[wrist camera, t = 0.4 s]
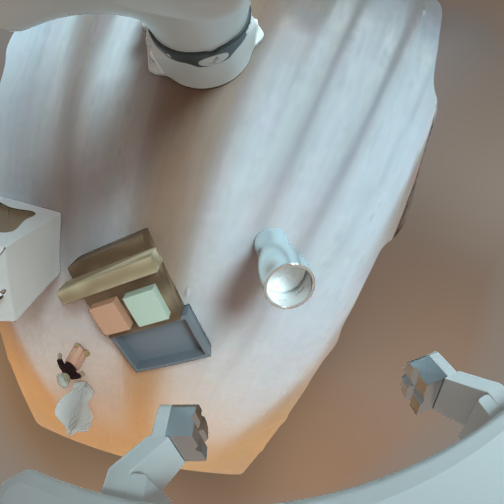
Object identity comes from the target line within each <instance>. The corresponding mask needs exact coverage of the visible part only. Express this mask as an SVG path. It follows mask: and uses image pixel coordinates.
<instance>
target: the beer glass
mask: <svg viewBox="0 0 504 504" xmlns="http://www.w3.org/2000/svg"><path fill="white" fill-rule="evenodd" d="M254 249H255V252H256V254H257V255H258V256H259V259H258V276H259V280H260V283H261V286H262V289H263V291H264V294H265V297H266V299H267V300H268V301H269V302H270V303H271V304H272V305H273V306H275V307H278V308H281V309H291V308H295V307H298V306H300V305H302V304H304V303H305V302H306V301H307V300H308V299H309V298H310V297H311V295H312V294H313V291H314V288H315V278H314V275H313V273H312V271H311V269H310V267H309V265H308V263H307V261H306V259H305V258H304V256H303V255H302V254H301V252H300V251H299V250H297V249H296V248H295V247H294V246H292V245H291V244H290V243H289V239H288V236H287V235H286V233H285V232H284V231H282V230H281V229H278V228H267V229H264V230H262V231H261V232H260V233H259V234H258V235H257V237H256V238H255V242H254Z"/></svg>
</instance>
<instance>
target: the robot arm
mask: <svg viewBox="0 0 504 504" xmlns="http://www.w3.org/2000/svg"><path fill="white" fill-rule="evenodd" d="M250 2H251V0H0V30H4V31H23V30H26V29H29V28H31V27H34V26H37V25H39V24H42V23H45V22H48V21H51V20H54V19H58V18H63V17H68V16H73V15H82V14H111V15H120V16H126V17H131V18H135V19H138V20H140V21H141V24H142V28H143V30H145V31H146V38H145V41H146V44H147V55H148V68H149V70H150V72H151V73H153V74H156V75H162V76H168V77H170V78H172V79H173V80H175V81H176V82H178V83H180V84H182V85H184V86H187V87H191V88H200V89H204V88H213V87H217V86H220V85H223V84H225V83H227V82H229V81H231V80H233V79H234V78H235V77H237V76H238V75H239V74H240V73H241V72H242V71H243V70H244V69H245V67H246V66H247V64H248V62H249V60H250V57H251V54H252V51H253V49H254V48H255V47H256V46H257V45H258V44H259V43H260V42H261V41H262V39H263V37H264V33H263V31H262V30H261V28H260V27H259V25H258V21H257V20H256V19H254V18H253V16H252V12H251V6H250ZM403 370H404V372H405V374H404V375H403V376H402V378H401V382H400V386H401V391H402V394H403V395H404V397H405V398H407V399H409V400H410V406H411V408H412V409H413V411H414V413H415V414H416V415H418V414H421V413H423V412H425V411H428V410H430V409H432V408H433V410H435V411H437V412H439V413H441V414H442V415H444V416H446V417H448V418H450V419H452V420H454V421H456V422H458V423H460V424H462V425H464V427H463V428H462V430H461V432H460V433H459V436H458V437H459V438H460V440H459V441H457V442H456V443H454V444H452V445H450V446H449V447H447V448H445V449H443V450H441V451H439V452H437V453H436V454H434V455H432V456H430V457H428V458H426V459H424V460H422V461H420V462H417V463H415V464H413V465H411V466H409V467H406V468H404V469H402V470H400V471H397V472H395V473H392V474H390V475H387V476H384V477H382V478H379V479H376V480H373V481H370V482H367V483H364V484H361V485H358V486H355V487H352V488H349V489H345V490H341V491H338V492H334V493H330V494H325V495H321V496H316V497H312V498H307V499H302V500H296V501H290V502H283V503H276V504H504V387H503V385H501V384H500V383H497V382H494V381H490V380H487V379H484V378H480V377H477V376H473V375H470V374H467V373H464V372H460V371H458V372H456V371H455V370H454V369H453V368H452V367H451V365H450V364H448V362H447V361H446V360H445V359H444V358H443V357H442V356H441V355H440V354H439V353H438V352H436V351H435V352H432V353H430V354H427V355H425V356H422V357H420V358H417V359H415V360H412V361H409V362H407V363H406V364H405V365H404V369H403ZM201 412H202V410H201V408H200V406H199V405H160V407H159V408H158V412H157V415H156V419H155V423H154V427H153V430H152V434H151V436H147V437H146V438H144V439H143V440H142V441H141V442H140V443H139V444H137V445H136V446H135V447H134V448H133V449H132V450H130V451H129V452H128V453H127V454H126V455H124V456H123V457H122V458H121V459H120V460H118V461H117V462H116V463H115V464H113V465H112V466H111V467H110V468H109V470H108V473H107V476H106V479H105V483H104V486H103V489H102V492H101V493H99V492H95V491H92V490H88V489H84V488H81V487H78V486H75V485H72V484H69V483H66V482H63V481H60V480H58V479H55V478H53V477H50V476H47V475H45V474H43V473H40V472H38V471H36V470H32V469H28V470H25V471H22V472H20V473H18V474H16V475H14V476H13V477H11V478H9V479H7V480H5V481H4V482H3V483H2V485H1V486H0V504H172V501H171V500H170V499H169V498H168V497H167V496H166V495H165V494H164V493H163V492H161V491H162V490H163V489H164V487H165V486H166V485H167V484H168V483H169V482H170V480H171V479H172V478H173V477H174V476H175V474H176V473H177V472H178V470H179V469H180V468H181V467H182V466H183V464H184V463H185V461H206V457H207V446H206V444H205V441H206V440H207V439H208V426H207V422H206V419H205V417H203V416H202V415H201Z"/></svg>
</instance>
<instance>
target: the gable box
mask: <svg viewBox="0 0 504 504" xmlns="http://www.w3.org/2000/svg"><path fill="white" fill-rule="evenodd" d="M60 228H61V213H60V212H57V211H53V210H49V209H45V208H42V207H38V206H34V205H31V204H27V203H24V202H20V201H16V200H13V199H9V198H5V197H2V196H0V291H1V290H3V289H5V292H4V293H3V294H1V293H0V321H14V322H16V321H17V320H18V318H19V317H20V316H21V315H22V314H23V313H24V311H25V310H26V309H27V308H28V307H29V306H30V305H31V304H32V303H33V301H34V300H35V299H36V298H37V297H38V296H39V295H40V294H41V293H42V292H43V291H44V290H45V289H46V287H47V286H48V285H49V284H50V283H51V282H52V281H53V280H54V279H55V278H56V277H57V276H58V275H59V274H60Z"/></svg>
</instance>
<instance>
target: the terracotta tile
mask: <svg viewBox="0 0 504 504" xmlns="http://www.w3.org/2000/svg"><path fill="white" fill-rule="evenodd" d="M89 312H90V314H91V315H92V317H93V318H94V320H95V321H96V323H97V324H98V326H99V327H100V329H101V330H102V332H103V333H104V335H105V336H107V335H111V334H115V333H119V332H122V331H126V330H130V329H131V326H132V324H133V322H132V320H131V319H130V317H129V316H128V314H127V312H126V311H125V309H124V307H123V306H122V304H121V302H120V301H119V299H118V297H117V296H115V297H112V298H109V299H106V300H103V301H100V302H97V303H94V304H92V305H91V307H90V308H89Z"/></svg>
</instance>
